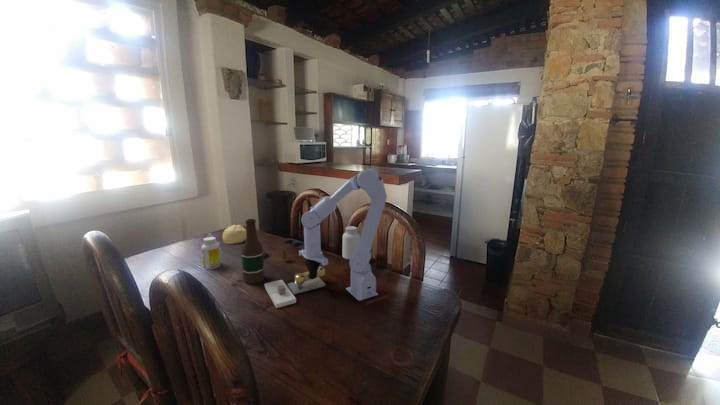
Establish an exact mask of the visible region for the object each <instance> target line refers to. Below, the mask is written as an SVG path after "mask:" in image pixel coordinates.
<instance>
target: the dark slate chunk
mask: <svg viewBox="0 0 720 405" xmlns="http://www.w3.org/2000/svg"><path fill="white" fill-rule="evenodd" d="M283 243H284V244H290V245H289V247H290V246H292V247H291V248H296V249H297V248H300V249H301V250H302V249H304V250H305V243H304V241H301V240H298V239H294V238H287V237H285V238H283ZM300 244H301V246H300ZM295 246H298V247H295Z"/></svg>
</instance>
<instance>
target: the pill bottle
mask: <svg viewBox="0 0 720 405" xmlns="http://www.w3.org/2000/svg"><path fill="white" fill-rule="evenodd" d="M360 237H361V234H360V233H359V232H358V227H356V226H353V225H352V226H346V227H345V231H344V233H343V234H342V251H341V252H342V257H343V258H344V259H346V260H350V258H351V257H352V256H353V255H354V253H355V251H356V248H357V246H358V243H359V240H360Z"/></svg>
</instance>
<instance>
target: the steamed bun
mask: <svg viewBox="0 0 720 405" xmlns="http://www.w3.org/2000/svg"><path fill="white" fill-rule="evenodd" d="M222 241H223V243H224V244H225V245H226V244H227V245H228V244H229V245H236V244H240V243H243V242H246V228H245V227H244V226H243V225H241V224H232V225H231V226H227V228H225V229H224V231H223V232H222ZM235 243H236V244H235Z"/></svg>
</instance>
